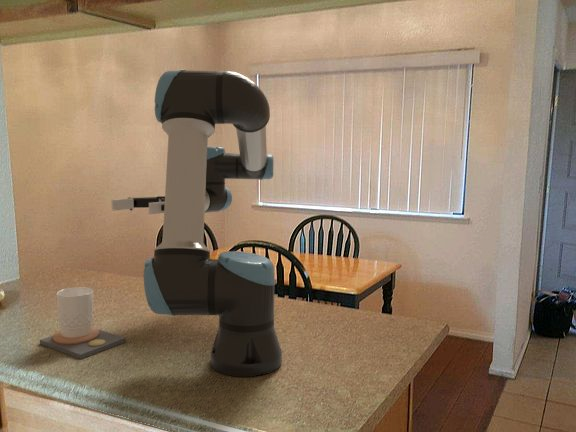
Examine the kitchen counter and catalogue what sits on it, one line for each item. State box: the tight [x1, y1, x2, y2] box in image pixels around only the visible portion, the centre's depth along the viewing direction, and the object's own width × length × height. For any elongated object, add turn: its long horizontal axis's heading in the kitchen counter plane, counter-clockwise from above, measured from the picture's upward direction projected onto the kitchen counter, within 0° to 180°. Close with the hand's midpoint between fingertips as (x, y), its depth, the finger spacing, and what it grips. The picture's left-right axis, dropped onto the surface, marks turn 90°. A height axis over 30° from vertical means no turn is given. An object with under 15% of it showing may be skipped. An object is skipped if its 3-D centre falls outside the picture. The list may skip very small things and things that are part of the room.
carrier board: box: [39, 326, 127, 360], centre depth 119 cm, size 15×12×2 cm
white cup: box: [55, 286, 94, 338], centre depth 120 cm, size 8×8×10 cm
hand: (130, 206), depth 129 cm, fingers open, 13 cm apart
